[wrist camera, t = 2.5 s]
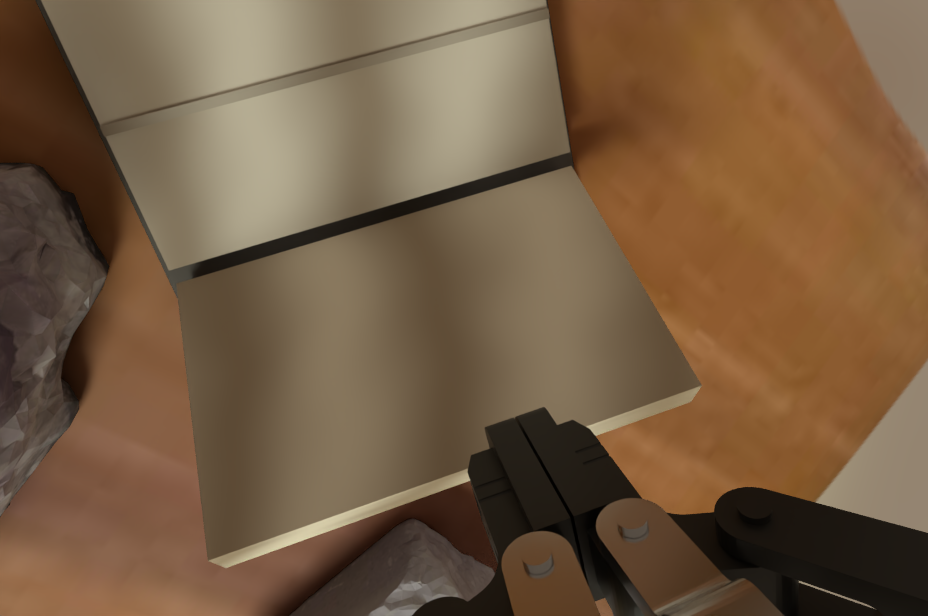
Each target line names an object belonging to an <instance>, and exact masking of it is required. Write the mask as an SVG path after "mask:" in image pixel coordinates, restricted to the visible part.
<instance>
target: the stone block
mask: <svg viewBox="0 0 928 616" xmlns="http://www.w3.org/2000/svg"><path fill="white" fill-rule="evenodd" d="M494 575H495V572H494V571H493V569H492V568H491V567H488V566H486V565H484V564H482V563H480V562H478V561H476V560H474V558H473V557H472V556H468V555H465V554H461V553H460V552H459V551H458V550H457V549H456V548H454V547H453V545H452V544H451V543H450V542H449V541H448V540H447V539H446V538H445V537H443V536H442V535H440V534H439V533H437V532H436V531H434V530H432V529H431V528H429V527H428V526H427V525H426V524H424V523H422V522H421V521H419V520H416V519H413V518H412V519H408V520H406V521H404V522H403V523H401V524H399V525H397V526H396V527H394V528H393V529H392V530H391V531H389V532H388V533H387V534H386V535H385V536H383V537H382V538H381V539H380V540H379V541H377V542H376V543H375V544H373V545H372V546H371V547H370V548H369V549H367V550H366V551H365V552H364V553H363V554H362V555H360V556H359V557H358V558H357V559H356V560H354V561H353V562H352V563H351V564H350V565H348V566H347V567H346V568H345V569H343V570H342V571H341V572H340V573H339V574H338V575H336V576H335V577H334V578H333V579H331V580H330V581H329V582H328V583H326V584H325V585H324V586H323V587H322V588H320V589H319V590H318V591H317V592H316V593H315V594H313V595H312V596H311V597H309V598H308V599H307V600H306V601H305V602H304V603H303V604H302V605H301V606H300V607H299V608H298V609H296V610H295V611H294V612H293V613H292V614H290V615H289V616H412V615H413V614H414V613H415V611H416V610H418V609H419V608H420V607H421V606H422V605H424V604H425V603H427V602H429V601H431V600H433V599H437V598H440V597H447V596H453V597H459V598H462V599H464V600H466V601H469V600H471V599H472V598H473V597H475V596H476V595H477V594H479V593H480V592H481V591H482V590H483V589H485V587H486V586H487V585H488V584H489V583H490V582H491V580H492V579H493V577H494Z"/></svg>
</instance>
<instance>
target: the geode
mask: <svg viewBox="0 0 928 616" xmlns="http://www.w3.org/2000/svg"><path fill="white" fill-rule="evenodd" d="M108 269H109V265H108V263H107V261H106V259H105V258H104V256H103V255H102V253H101V251H100V250H99V248H98V246H97V245H96V243H95V241H94V240H93V238H92V237H91V235H90V233H89V231H88V229H87V227H86V224H85V222H84V219H83V216H82V214H81V211H80V208H79V206H78V203H77V200H76V198H75V195H74V194H73V193H70V192H66V191H62V190H61V189H60V188H59V186H58V185H57V184H56V183H55V182H54V180H53V179H52V178H51V177H50V176H49V174H48V173H47V172H46V171H45V170H44V168H43V167H40V166H37V165H34V164H31V163H0V516H1V515H2V513H3V512H4V511H5V509H6V508H7V507H8V506H9V505H10V501H11V500H12V498H13V497H14V496H15V494H16V493H17V492H18V490H19V489H20V488H21V487H22V485H23V484H24V483H25V482H26V480H27V479H28V478H29V476H30V475H31V474H32V473H33V471H34V470H35V469H36V467H37V466H38V465H39V463H40V462H41V461H42V459H43V458H44V457H45V456H46V454H47V453H48V452H49V450H50V449H51V448H52V446H53V445H54V444H55V442H56V441H57V440H58V439H59V438H60V437H61V436H62V434H63V433H64V432H65V431H66V430H67V429H68V428H69V427H70V425H71V423H72V421H73V419H74V418H75V416H76V414H77V412H78V410H79V401H78V399H77V397H76V396H75V394H74V392H73V390H72V389H71V387H70V385H69V384H68V383H67V382H65V381H64V380H62V379H61V373H62V368H63V362H64V358H65V356H66V353H67V350H68V347H69V345H70V342H71V339H72V337H73V334H74V332H75V331H76V329H77V328H78V326H79V325H80V323H81V322H82V320H83V319H84V317H85V316H86V314H87V313H88V311H89V310H90V308H91V306H92V305H93V303H94V301H95V300H96V298H97V296H98V295H99V293H100V291H101V289H102V288H103V286H104V283H105V280H106V276H107V272H108Z"/></svg>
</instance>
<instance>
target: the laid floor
mask: <svg viewBox="0 0 928 616" xmlns="http://www.w3.org/2000/svg"><path fill="white" fill-rule="evenodd" d="M36 2H37V5H38V7H39V9H40V11H41V13H42V15H43V17H44V19H45V21H46V23H47V26H48V28H49V30H50V32H51V34H52V36H53V38H54V40H55V42H56V44H57V46H58V49H59V51H60V53H61V55H62V57H63V59H64V61H65V63H66V65H67V67H68V70H69V72H70V74H71V76H72V78H73V80H74V82H75V84H76V86H77V88H78V91H79V93H80V95H81V97H82V99H83V101H84V103H85V105H86V107H87V109H88V112H89V114H90V116H91V118H92V120H93V122H94V124H95V126H96V128H97V130H98V132H99V135H100V137H101V139H102V141H103V143H104V145H105V147H106V149H107V151H108V153H109V156H110V158H111V160H112V162H113V164H114V166H115V168H116V170H117V172H118V174H119V177H120V179H121V181H122V183H123V185H124V187H125V189H126V191H127V193H128V195H129V198H130V200H131V202H132V204H133V206H134V208H135V210H136V212H137V214H138V216H139V218H140V221H141V223H142V225H143V227H144V229H145V231H146V233H147V235H148V237H149V239H150V242H151V244H152V246H153V248H154V250H155V252H156V254H157V256H158V258H159V260H160V263H161V265H162V267H163V269H164V271H165V273H166V275H167V277H168V279H169V281H170V284H171V286H172V288H173V290H174V292H175V294H176V296H177V298H178V295H177V286H176V284H177V283H180V282H183V281H187V280H190V279H193V278H197V277H200V276H203V275H207V274H210V273H213V272H217V271H220V270H224V269H227V268H230V267H234V266H237V265H240V264H244V263H247V262H250V261H254V260H257V259H260V258H264V257H267V256H270V255H274V254H277V253H280V252H284V251H287V250H291V249H294V248H297V247H301V246H304V245H307V244H311V243H314V242H317V241H321V240H324V239H327V238H331V237H334V236H337V235H341V234H344V233H347V232H351V231H354V230H357V229H361V228H364V227H368V226H371V225H374V224H378V223H381V222H384V221H388V220H391V219H394V218H398V217H401V216H404V215H408V214H411V213H414V212H418V211H421V210H424V209H428V208H431V207H435V206H438V205H441V204H445V203H448V202H451V201H455V200H458V199H461V198H465V197H468V196H471V195H475V194H478V193H481V192H485V191H488V190H491V189H495V188H498V187H501V186H505V185H508V184H512V183H515V182H518V181H522V180H525V179H528V178H532V177H535V176H538V175H542V174H545V173H548V172H552V171H555V170H558V169H562V168H565V167H568V166H572V168H573V169H574V165H573V159H572V152H571V146H570V140H569V134H568V127H567V121H566V115H565V108H564V102H563V96H562V90H561V83H560V77H559V71H558V65H557V58H556V52H555V46H554V40H553V33H552V27H551V21H550V15H549V8H548V2H547V0H36Z"/></svg>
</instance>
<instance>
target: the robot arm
mask: <svg viewBox="0 0 928 616" xmlns="http://www.w3.org/2000/svg"><path fill="white" fill-rule="evenodd" d="M485 433H486V437H487V440H488V444H489V448H490V449H487V450H484V451H481V452H478V453H475V454H473V455H471V457H470V462H469V467H468V471H467V472H468V475H469V479H470V482H471V485H472V489H473V492H474V495H475V499H476V502H477V505H478V509H479V512H480V515H481V519H482V522H483V525H484V527H485V530H486V533H487V535H488V538H489V541H490V544H491V546H492V549H493V552H494V555H495V557H496V560H497V563H498V567H497V570H496V573H495V575H494V577H493V579H492V580H491V582H490V583H489V584H488V585H487V586H486V587H485V589H483V590H482V591H481V592H480V593H479V594H477V595H476V596H475V597H473V598H472V599H471V600H469V601H466V600H464V599H462V598H459V597H453V596H447V597H440V598H437V599H433V600H431V601H429V602H427V603H425V604H424V605H422V606H421V607H420V608H419V609H418V610H416V611H415V613H414V614H413V615H412V616H601V615H600V613H599V610H598V608H597V606H596V603H595V601H597V600H600V599H603V598H606V600H607V602H608V604H609V606H610V608H611V609H612V612H613V616H928V533H926V532H922V531H918V530H915V529H911V528H907V527H903V526H900V525H896V524H892V523H888V522H885V521H881V520H877V519H874V518H870V517H866V516H863V515H859V514H855V513H852V512H848V511H844V510H840V509H836V508H833V507H830V506H826V505H822V504H818V503H815V502H811V501H807V500H804V499H800V498H796V497H793V496H789V495H785V494H781V493H778V492H774V491H770V490H767V489H762V488H756V487H743V488H737V489H734V490H731V491H729V492H727V493H725V494H723V495H722V496H721V497H720V498H719V499H718V501H717V502H716V505H715V509H714V512H712V513H700V514H688V515H679V514H671V513H666V512H665V511H664V510H663V509H662V508H661V507H660V506H658V505H657V504H655V503H653V502H651V501H648V500H645V499H642V498H641V497H640V495H639V494H638V492H637V491H636V490H635V488H634V487H633V486H632V484H631V483H630V482H629V480H628V479H627V478H626V476H625V475H624V474H623V472H622V471H621V470H620V468H619V467H618V466H617V464H616V463H615V462H614V460H613V459H612V458H611V457H610V456H609V454H608V452H607V451H606V450H605V448H604V447H603V446H602V445H601V444H600V442H599V440H598V439H597V438H596V436H595V435H594V434H593V432H592V431H591V430H590V429H589V428H587V427H586V426H584V425H582V424H580V423H578V422H576V421H574V420H570V421H567V422H564V423H562V424H559V425H557V424H556V422H555V421H554V419H553V418H552V416H551V415H550V413H549V412H548V410H547V409H546V408H545V407H542V408H539V409H536V410H533V411H530V412H527V413H524V414H521V415H518V416H516V417H515V418H514V417H513V418H510V419H507V420H504V421H501V422H498V423H495V424H493V425H490V426H487V427H485ZM799 581H802V582H805V583H808V584H811V585H814V586H817V587H819V588H822V589H825V590H828V591H831V592H834V593H837V594H840V595H842V596H845V597H848V598H851V599H854V600H857V601H860V602H863V603H865V604H868V605H870V606H872V607H873V608H875V609H873V608H870V607H867V606H864V605H861V604H858V603H855V602H853V601H850V600H847V599H844V598H841V597H838V596H835V595H833V594H830V593H827V592H824V591H821V590H818V589H815V588H813V587H810V586H807V585H804V584H801V583H799ZM876 609H877V610H876Z"/></svg>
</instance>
